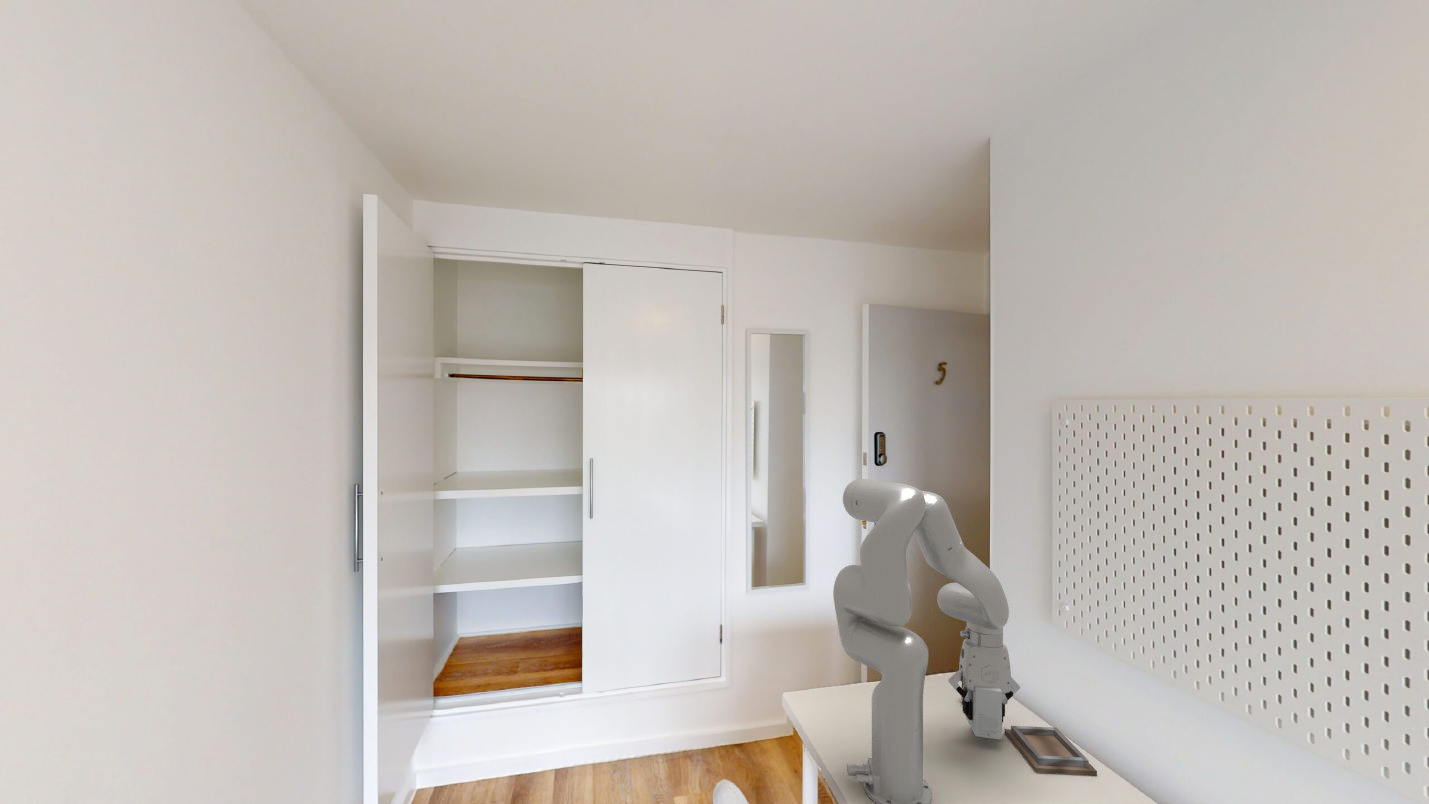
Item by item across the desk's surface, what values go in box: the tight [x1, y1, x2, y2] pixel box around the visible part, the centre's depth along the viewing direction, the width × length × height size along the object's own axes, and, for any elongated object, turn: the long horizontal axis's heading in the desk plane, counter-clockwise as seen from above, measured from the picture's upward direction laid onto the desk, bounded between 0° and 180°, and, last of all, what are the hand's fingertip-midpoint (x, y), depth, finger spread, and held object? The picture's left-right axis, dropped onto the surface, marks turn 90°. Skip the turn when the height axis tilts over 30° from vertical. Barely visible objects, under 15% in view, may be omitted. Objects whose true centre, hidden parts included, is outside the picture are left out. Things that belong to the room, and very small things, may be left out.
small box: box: [965, 687, 1003, 740], centre depth 124 cm, size 8×6×10 cm
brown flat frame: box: [1004, 725, 1098, 777], centre depth 119 cm, size 12×14×2 cm
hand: (983, 717), depth 124 cm, fingers closed on small box, 6 cm apart
